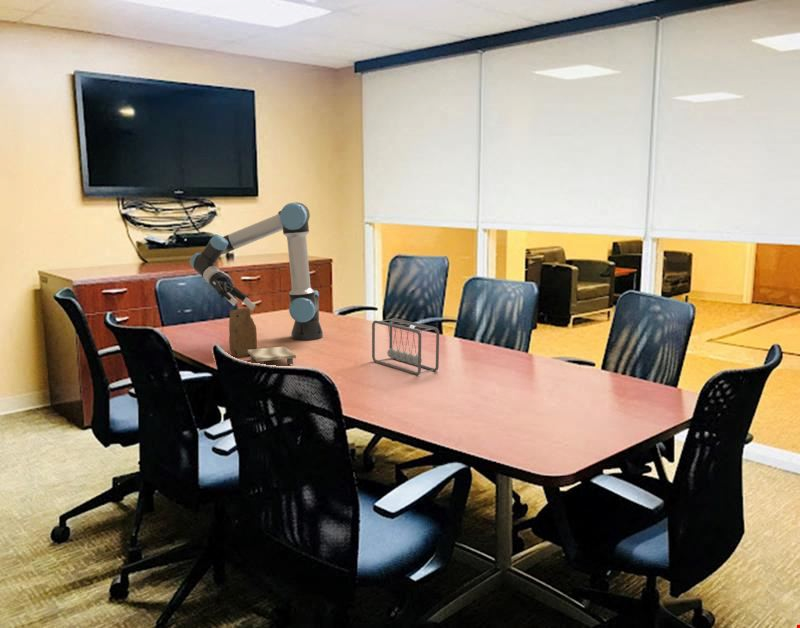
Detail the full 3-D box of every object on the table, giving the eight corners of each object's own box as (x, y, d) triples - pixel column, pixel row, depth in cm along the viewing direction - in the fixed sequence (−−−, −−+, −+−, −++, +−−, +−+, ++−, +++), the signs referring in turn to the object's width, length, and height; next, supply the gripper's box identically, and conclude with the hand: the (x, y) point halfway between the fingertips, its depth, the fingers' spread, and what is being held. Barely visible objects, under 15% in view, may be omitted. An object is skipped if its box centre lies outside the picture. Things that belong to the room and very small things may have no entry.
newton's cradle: (371, 361, 286) (371, 319, 283) (390, 357, 293) (391, 317, 290) (419, 376, 264) (419, 331, 260) (439, 372, 270) (439, 327, 267)
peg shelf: (285, 356, 294) (285, 346, 293) (296, 365, 279) (295, 355, 278) (247, 359, 287) (247, 349, 287) (256, 368, 272) (256, 358, 271)
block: (234, 358, 289) (232, 311, 286) (228, 354, 295) (227, 309, 292) (258, 355, 295) (257, 309, 291) (252, 352, 301) (251, 307, 297)
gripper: (227, 289, 321) (256, 316, 313) (193, 279, 298) (222, 308, 290) (236, 276, 320) (265, 303, 312) (202, 265, 297) (232, 294, 289)
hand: (245, 306), depth 301 cm, fingers open, 13 cm apart
